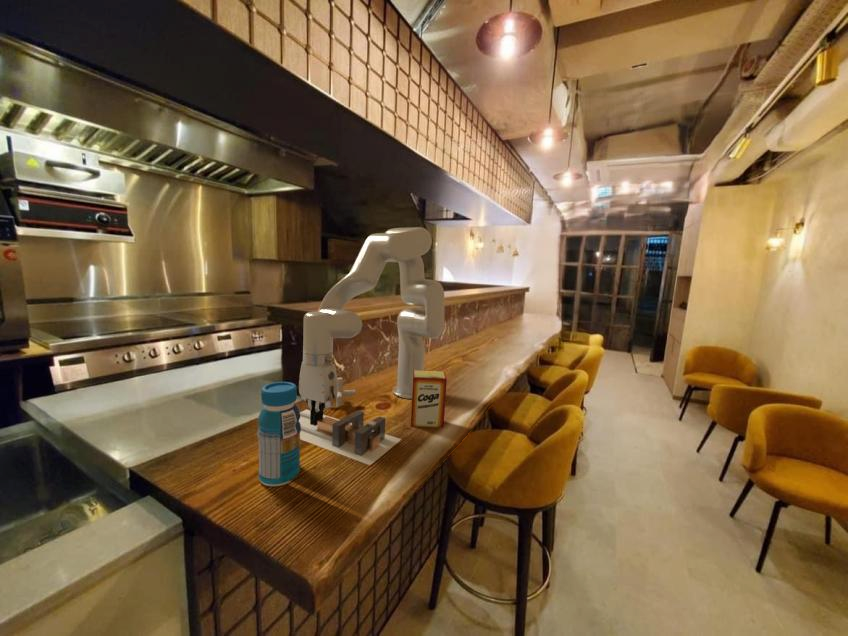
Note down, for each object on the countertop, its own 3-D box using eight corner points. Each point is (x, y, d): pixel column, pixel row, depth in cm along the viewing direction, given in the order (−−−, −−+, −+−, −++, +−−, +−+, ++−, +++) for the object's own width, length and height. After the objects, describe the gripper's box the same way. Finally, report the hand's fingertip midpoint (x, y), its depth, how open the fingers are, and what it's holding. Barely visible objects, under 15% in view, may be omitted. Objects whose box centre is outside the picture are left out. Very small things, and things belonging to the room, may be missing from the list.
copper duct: (317, 432, 90) (317, 420, 89) (325, 427, 92) (326, 416, 92) (372, 451, 81) (372, 439, 81) (379, 445, 84) (380, 433, 84)
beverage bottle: (253, 490, 67) (251, 394, 64) (263, 466, 75) (261, 380, 72) (298, 486, 69) (298, 393, 66) (302, 463, 77) (303, 379, 74)
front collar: (378, 436, 89) (379, 414, 88) (384, 438, 88) (385, 416, 87) (354, 453, 80) (355, 429, 79) (361, 455, 79) (362, 431, 79)
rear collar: (357, 429, 92) (357, 410, 91) (363, 431, 91) (363, 411, 91) (332, 445, 83) (332, 424, 83) (338, 447, 82) (338, 426, 82)
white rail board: (306, 412, 103) (306, 407, 103) (401, 442, 88) (401, 436, 88) (267, 430, 91) (267, 424, 91) (370, 469, 76) (370, 462, 76)
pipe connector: (322, 415, 102) (323, 384, 100) (323, 402, 111) (323, 373, 110) (356, 413, 104) (356, 382, 103) (353, 401, 114) (354, 373, 113)
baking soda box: (410, 429, 96) (413, 375, 94) (410, 419, 103) (413, 369, 100) (443, 430, 96) (446, 377, 94) (441, 420, 103) (444, 370, 101)
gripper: (349, 360, 89) (347, 425, 92) (307, 351, 96) (307, 412, 98) (329, 366, 82) (327, 436, 85) (286, 356, 89) (286, 421, 91)
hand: (316, 423), depth 91 cm, fingers closed
